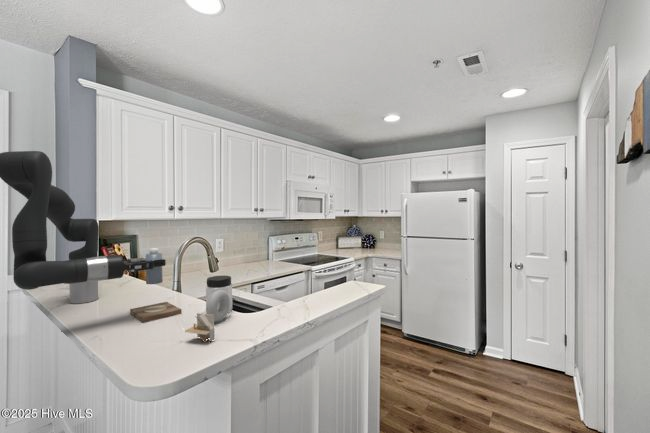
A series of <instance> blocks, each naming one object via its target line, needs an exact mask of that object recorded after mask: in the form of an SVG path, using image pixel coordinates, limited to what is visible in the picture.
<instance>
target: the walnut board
mask: <svg viewBox="0 0 650 433" xmlns="http://www.w3.org/2000/svg"><path fill="white" fill-rule="evenodd" d="M129 313H130V315H132V316H133V317H134V318H136V319H137V320H139V321H140V322H141V323H149V322H151V321H155V320H161V319H165V318H169V317H173V316H177V315H182V308H180V307H179V306H176V305H174V304H172V303H170V302H168V301H164V302H158V303H153V304H149V305H145V306H138V307H135V308H130V309H129Z"/></svg>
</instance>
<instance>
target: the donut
mask: <svg viewBox="0 0 650 433" xmlns="http://www.w3.org/2000/svg"><path fill="white" fill-rule="evenodd" d="M218 303H219V308H218V310H217V307H218ZM229 307H230V298H229V295H228V294H227V293H226V292H225V291H223V290H217V291H215V292H214V293H212V295H211V296H210V297H209V299H208V301H207V304H206V303H205V314H210V315H214V323H218V322H219V323H220V322H221V321H223V319H225V317H226V316H228V314H229V313H228V311H229ZM227 313H228V314H227Z"/></svg>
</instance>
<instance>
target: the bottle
mask: <svg viewBox="0 0 650 433" xmlns="http://www.w3.org/2000/svg"><path fill="white" fill-rule="evenodd" d="M145 258H146V261H149V260H161V259H163V253H162V252H159V247H150V248H149V253H146V254H145ZM147 266H149V263H147ZM161 283H163V266H159V267H154V268H153V269H147V270H145V284H146V285H157V284H161Z"/></svg>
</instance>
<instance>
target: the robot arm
mask: <svg viewBox="0 0 650 433" xmlns="http://www.w3.org/2000/svg"><path fill="white" fill-rule="evenodd" d="M0 179H1V180H2V181H3V182H4V183H6V184H7V186H9V187H10V188H12V189H14V190H15V191H17V192H18V193H19V194H20V195H22V196H23V197H25V199H27V202H26V203H25V204H24V205H23V207H22V208H21V209H20V211H19V212H18V213H17V215H16V217H15V219H14V221H13V223H12V228H11V235H12V237H11V238H12V240H11V241H12V242H11V243H12V251H13V255H14V258H13V278H12V279H13V282H14V284H15V286H17V287H18V288H19V289H22V290H27V291H28V290H29V291H30V290H36V289H39V288H41V287H47V286H48V287H49V286H54V285H61V284H65V285H66V284H67V285H69V304H75V305H76V304H83V303H89V302H90V303H91V302H94V301H96V300H98V299H99V298H100V296H99V282H100V281H101V282H102V281H106V280H107V281H108V280H114V279H115V280H116V279H122V278H123V276H124V273H125V271H128V272H129V273H130V272H135V273H137V272H139V271H146V270H147V269H153V268H154V267H159V266H162V267H165V266H166V264H167V263H166V259H165V258H162V259H161V260H149V261H146V257H145V258H144V257H141V258H140V257H137V258H132V257H131V258H127V259H126V258H125V259H124V257H123V255H122V254H113V255H112V254H111V255H100V256H99V255H98V253H99V233H100V232H99V229H100V228H99V223H98V221H97V219H95V218H72V217H73V215H74V213H75V212H76V205H75V202H74V201H73V199H72V198H71V197H70V196H69V194H68V193H67V192H66V191H65V190H63V189H62V188H59V187H57V186H55V185H52V182H53V180H52V179H53V165H52V163H51V160H50V158H49V157H48V155H47V154H46V153H44V152H43V151H38V150H27V151H26V150H23V151H16V150H15V151H4V152H0ZM48 219H49V221H50V222H51V223H52V225H54V226H55V227H56V228H57V230H58V231H59V233H60V234H61V236H62V237H63V238H64V239H65V240H66V241H68V242H74V243H77V242H85V243H84V245H83V246H82V247H80V248H77V249H75V250H71V251H70V252H68V260H47V255H46V254H47V249H48V232H47V231H48V230H47V222H48V221H47V220H48ZM147 263H149V266H147Z"/></svg>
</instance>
